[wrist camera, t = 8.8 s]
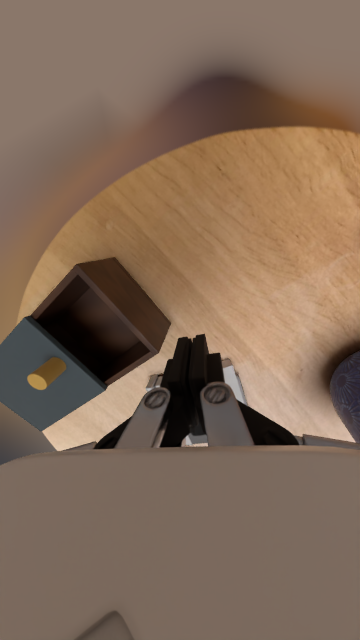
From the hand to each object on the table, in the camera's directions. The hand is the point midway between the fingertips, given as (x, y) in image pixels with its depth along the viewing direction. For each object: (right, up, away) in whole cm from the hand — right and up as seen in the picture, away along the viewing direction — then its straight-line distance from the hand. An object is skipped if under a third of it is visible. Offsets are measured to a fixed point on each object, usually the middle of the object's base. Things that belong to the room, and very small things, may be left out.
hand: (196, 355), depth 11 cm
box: (-14, +2, +21) cm, 25 cm away
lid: (-22, -7, +16) cm, 28 cm away
